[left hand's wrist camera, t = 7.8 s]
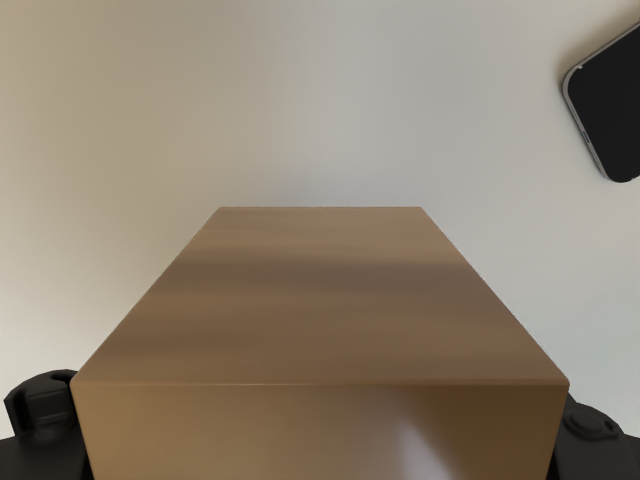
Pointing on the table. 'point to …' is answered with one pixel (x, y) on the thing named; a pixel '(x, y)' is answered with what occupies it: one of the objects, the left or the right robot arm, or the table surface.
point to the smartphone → (610, 105)
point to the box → (319, 360)
